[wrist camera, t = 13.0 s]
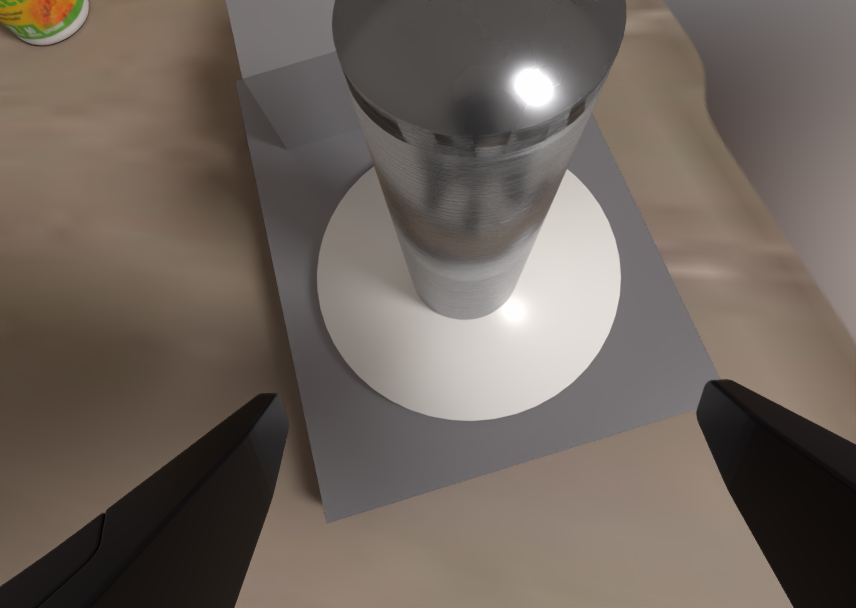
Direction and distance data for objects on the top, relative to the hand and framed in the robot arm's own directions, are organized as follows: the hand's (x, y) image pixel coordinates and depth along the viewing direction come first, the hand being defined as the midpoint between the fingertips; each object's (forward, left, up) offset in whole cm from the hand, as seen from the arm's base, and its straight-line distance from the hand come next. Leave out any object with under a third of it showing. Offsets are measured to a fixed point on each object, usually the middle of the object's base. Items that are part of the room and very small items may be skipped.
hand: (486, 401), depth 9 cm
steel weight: (+6, -2, -9) cm, 11 cm away
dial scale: (+9, -2, -12) cm, 15 cm away
